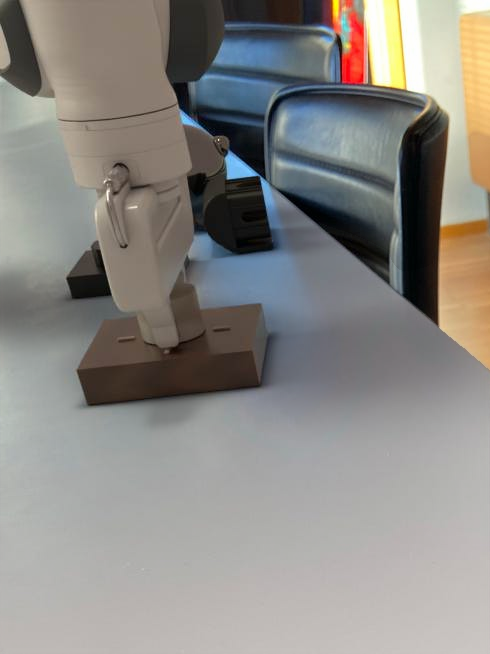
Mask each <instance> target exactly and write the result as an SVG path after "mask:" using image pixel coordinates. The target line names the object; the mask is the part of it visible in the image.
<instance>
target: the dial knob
mask: <svg viewBox="0 0 490 654" xmlns="http://www.w3.org/2000/svg"><path fill="white" fill-rule="evenodd" d="M169 297H170V301H171V303H170V306H171V310H172V313H173V316H174V319H176V320H177V324H178V328H179V332H180V339H179V343H180V342H184V341H188V340H191V339H193V338H195V337H198V336H199V335H201V334H202V333H203V332H204V331H205V326H204V321H203V317H202V313H201V305H200V301H199V297H198V293H197V288H196V286H195V285H194V284H192V283H189V282H186V283H184V282H175V285H174V287H173V289H172V292H171V294H170V296H169ZM136 316H137V320H138V323H139V327H140V331H141V334H142V338H143V340H144V341H145V342H147V343H150V344H156V341H155V338H154V334H153V331H152V328H151V326H150V324H149V323H148V321H147V319H146V317H145V315H144V314H143V312H142V311H141V312H135V317H136Z"/></svg>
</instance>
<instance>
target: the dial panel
mask: <svg viewBox="0 0 490 654" xmlns="http://www.w3.org/2000/svg"><path fill="white" fill-rule="evenodd" d="M200 309H201V308H200ZM201 313H202V317H203V321H204V326H205V331H204V332H203V333H202V334H201V335H199V336H198V337H195V338H193V339H191V340H188V341H184V342H180V343H178V345H177V346H175V347H169V348H160V347H158V346H157V344H150V343H147V342H145V341H144V340H143V338H142V334H141V331H140V327H139V323H138V320H137V316H136V315H135V316H129V317H120V318H119V317H117V318H109V319H104V320H103V321H102V323H101V324H100V327H99V328H98V330H97V332H96V334H95V335H94V338H92V341H91V343H90V344H89V347H88V348H87V350H86V351H85V353H84V356H83V357H82V359H81V360H80V363H79V364H78V366H77V368H76V370H75V372H76V374H77V377H78V380H79V383H80V386H81V391H82V393H83V396H84V398H85V402H86V405H87V406H91V405H92V406H93V405H100V404H108V403H109V404H110V403H117V402H118V403H119V402H126V401H128V402H129V401H134V400H135V401H136V400H144V399H145V400H146V399H151V398H152V399H153V398H163V397H171V396H172V397H173V396H180V395H187V394H188V395H189V394H198V393H207V392H215V391H216V392H217V391H225V390H235V389H242V388H251V387H259V386H261V381H262V380H261V379H262V374H263V370H264V369H263V368H264V361H265V356H266V350H267V345H268V339H269V332H268V328H267V323H266V322H267V321H266V318H265V312H264V307H263V302H256V303H248V304H238V305H228V306H220V307H219V306H218V307H212V308H211V307H209V308H202V309H201Z"/></svg>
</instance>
